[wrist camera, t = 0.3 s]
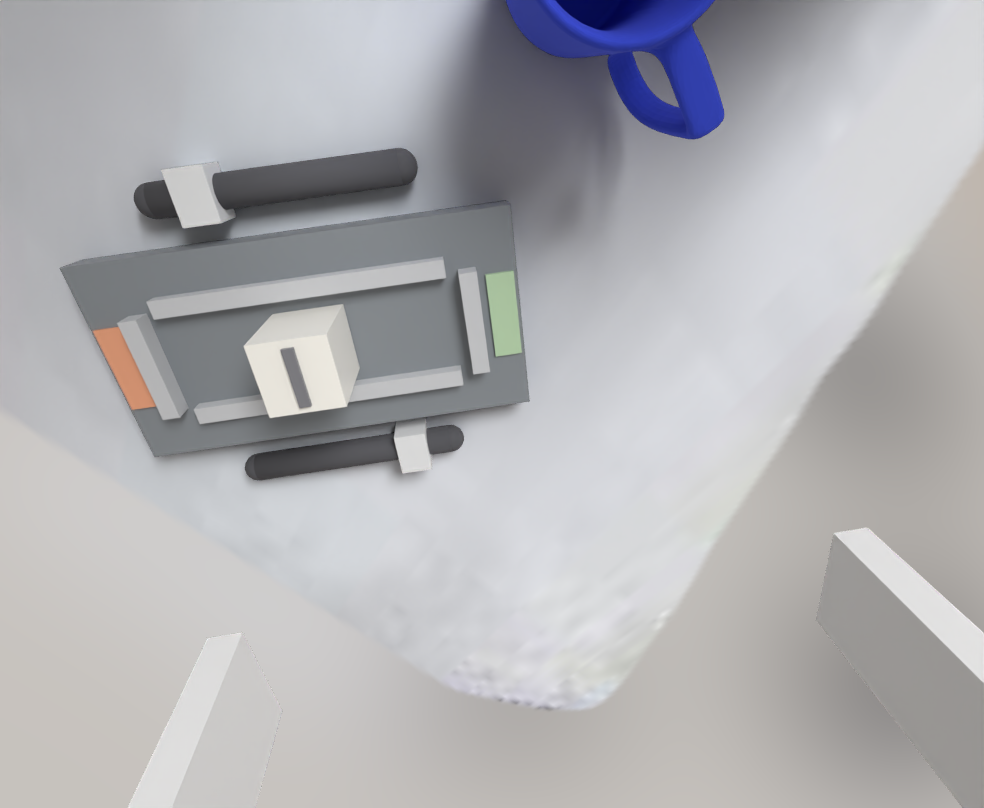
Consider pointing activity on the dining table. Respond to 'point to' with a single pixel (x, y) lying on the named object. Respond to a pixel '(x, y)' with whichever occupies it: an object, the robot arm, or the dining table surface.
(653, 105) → the mug
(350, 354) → the toggle
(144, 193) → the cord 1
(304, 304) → the panel
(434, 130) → the dining table surface
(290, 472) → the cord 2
